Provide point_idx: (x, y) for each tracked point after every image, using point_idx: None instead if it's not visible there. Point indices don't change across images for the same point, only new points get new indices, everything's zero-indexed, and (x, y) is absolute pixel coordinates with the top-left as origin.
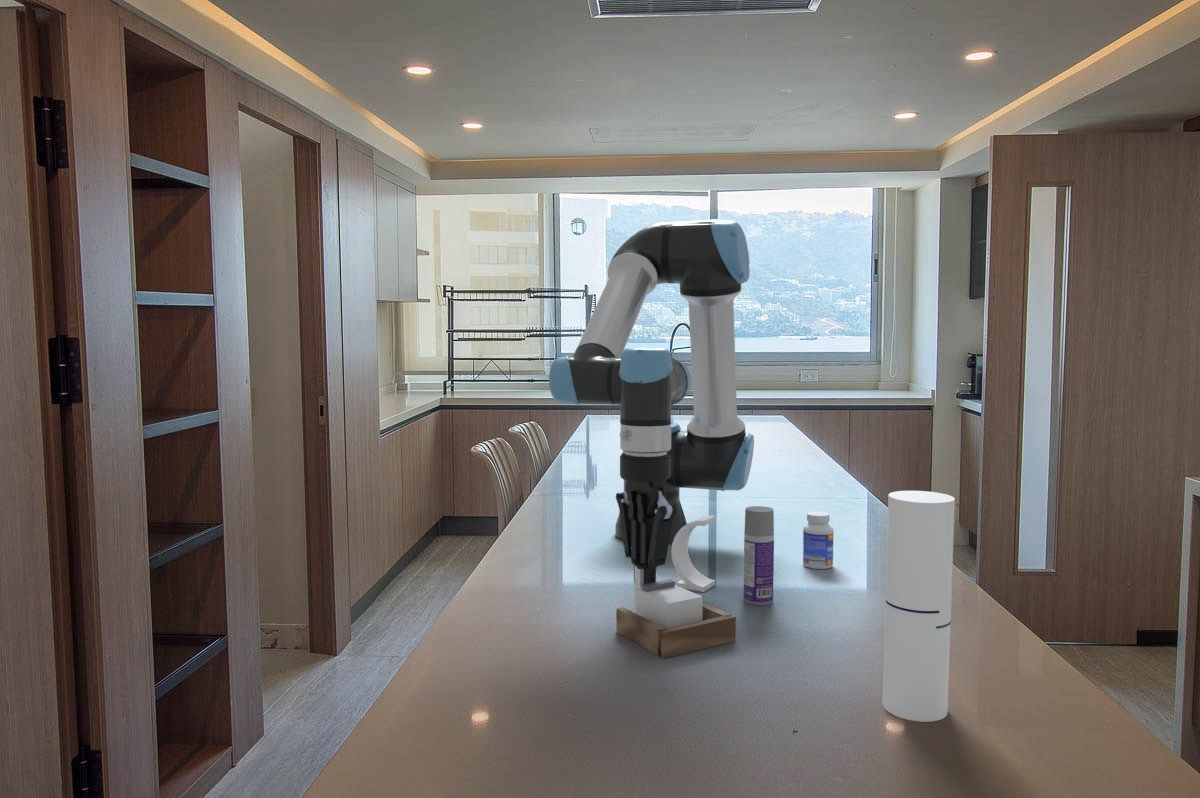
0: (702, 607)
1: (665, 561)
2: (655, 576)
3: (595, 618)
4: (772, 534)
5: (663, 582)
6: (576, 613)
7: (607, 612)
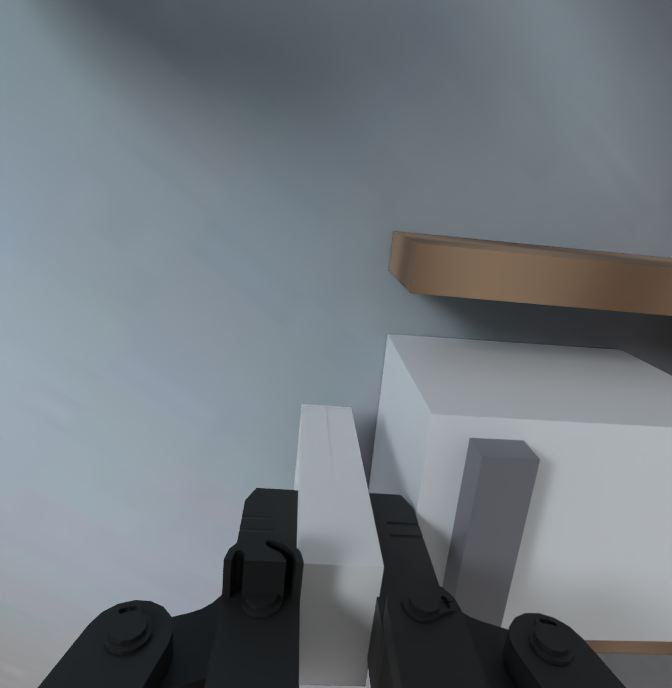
0: (628, 311)
1: (591, 653)
2: (428, 555)
3: (166, 544)
4: None
5: (504, 532)
6: (68, 570)
7: (123, 470)
